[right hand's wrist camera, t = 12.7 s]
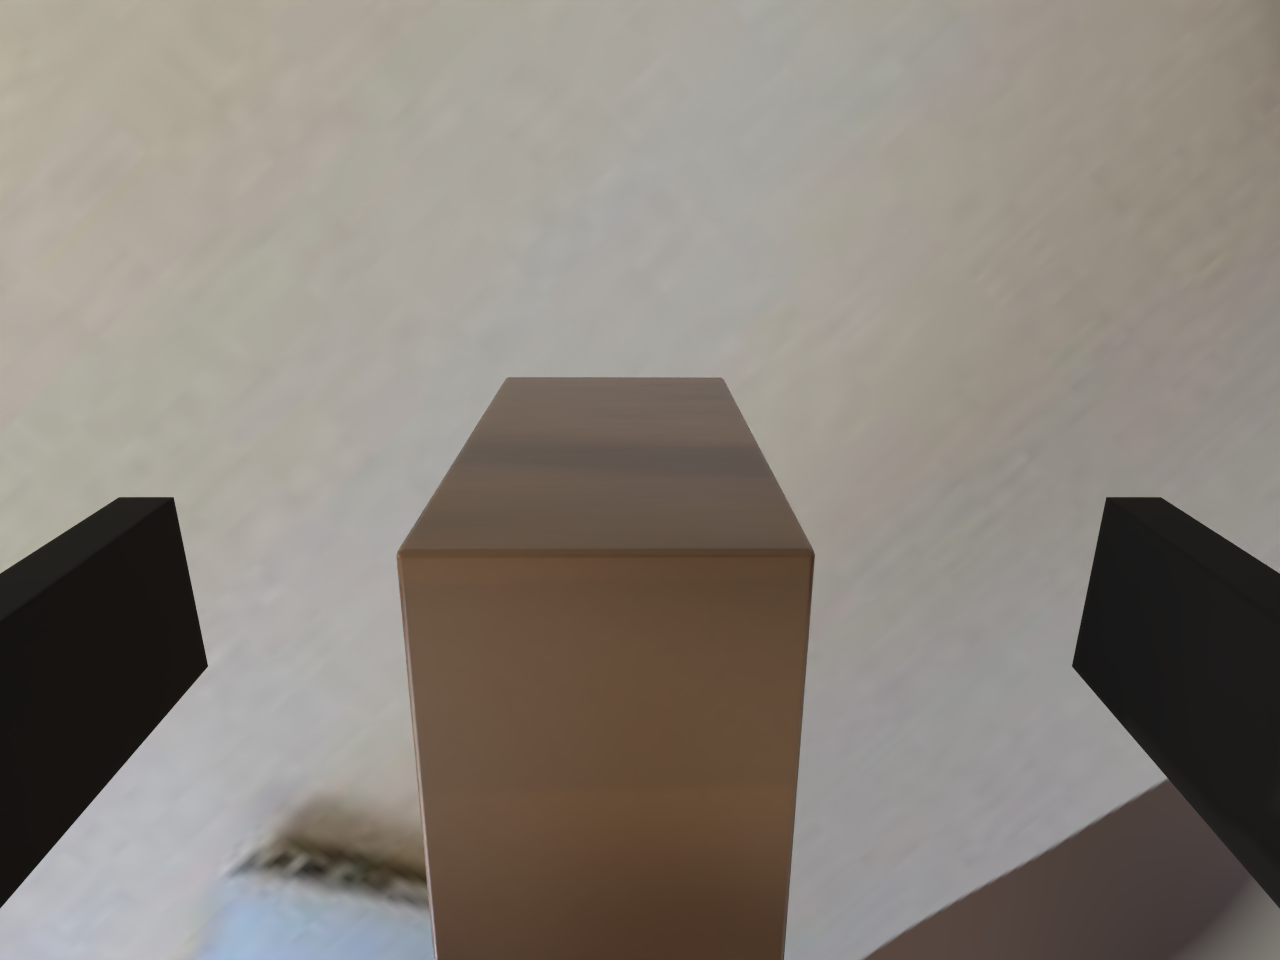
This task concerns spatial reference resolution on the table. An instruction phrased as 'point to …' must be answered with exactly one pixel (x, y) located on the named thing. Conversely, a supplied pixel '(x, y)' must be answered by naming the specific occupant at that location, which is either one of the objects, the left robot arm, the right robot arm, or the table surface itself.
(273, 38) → the table surface
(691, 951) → the bar
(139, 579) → the right robot arm
